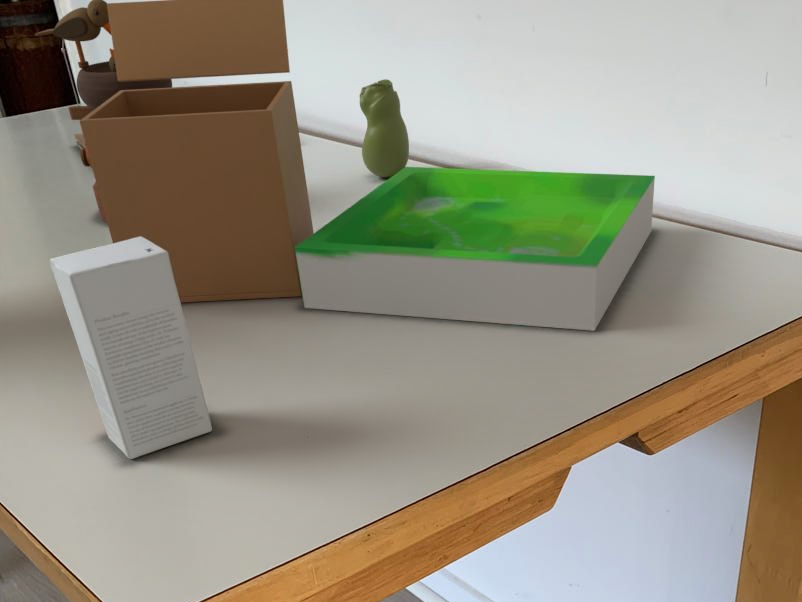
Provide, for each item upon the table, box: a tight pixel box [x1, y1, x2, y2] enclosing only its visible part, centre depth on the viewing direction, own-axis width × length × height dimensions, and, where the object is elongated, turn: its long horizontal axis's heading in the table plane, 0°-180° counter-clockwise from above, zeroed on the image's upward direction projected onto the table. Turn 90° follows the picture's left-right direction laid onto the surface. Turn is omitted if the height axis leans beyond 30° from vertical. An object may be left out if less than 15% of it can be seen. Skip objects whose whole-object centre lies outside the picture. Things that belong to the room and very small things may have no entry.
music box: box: [35, 0, 173, 223], centre depth 102 cm, size 15×11×20 cm
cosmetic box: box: [49, 236, 213, 460], centre depth 62 cm, size 6×4×12 cm
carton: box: [79, 80, 315, 303], centre depth 85 cm, size 15×12×14 cm
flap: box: [106, 0, 291, 82], centre depth 84 cm, size 15×6×1 cm
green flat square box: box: [295, 166, 656, 332], centre depth 87 cm, size 25×25×5 cm
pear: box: [359, 78, 410, 178], centre depth 111 cm, size 6×5×10 cm
